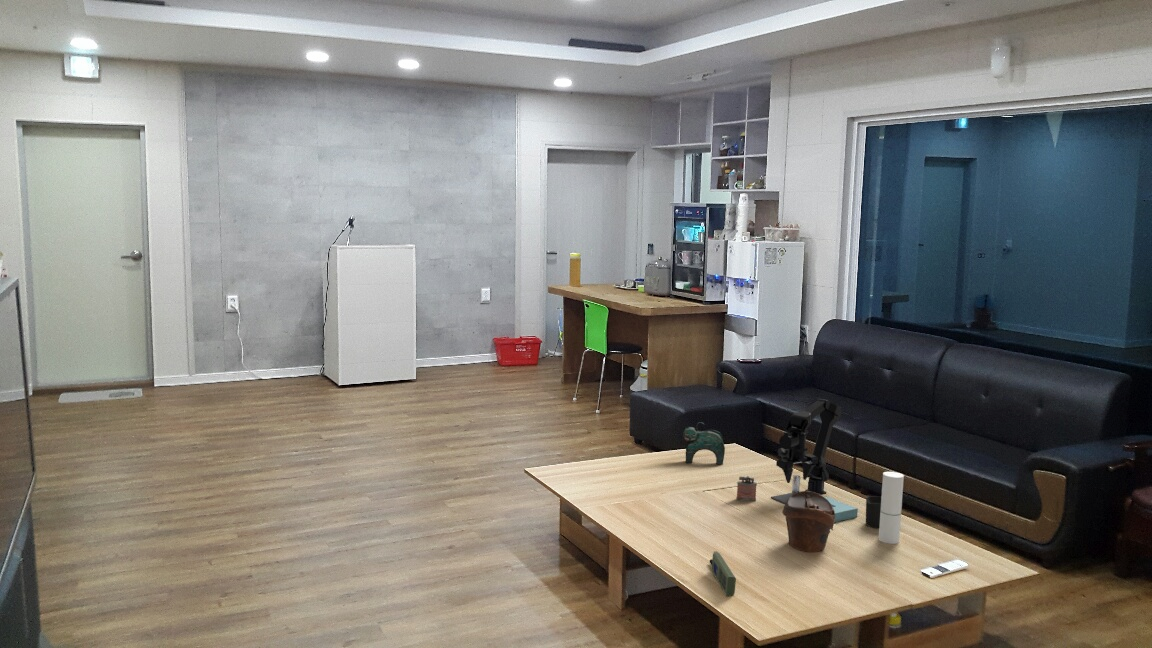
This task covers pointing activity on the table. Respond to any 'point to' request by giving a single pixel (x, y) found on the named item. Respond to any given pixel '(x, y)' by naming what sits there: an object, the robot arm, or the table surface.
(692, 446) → the ceramic cat
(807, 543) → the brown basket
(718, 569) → the handheld radio
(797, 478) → the steel pin
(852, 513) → the teal square hole block
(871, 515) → the pen holder
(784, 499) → the rubber mat
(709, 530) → the table surface
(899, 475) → the cylindrical container
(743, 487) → the lighter
